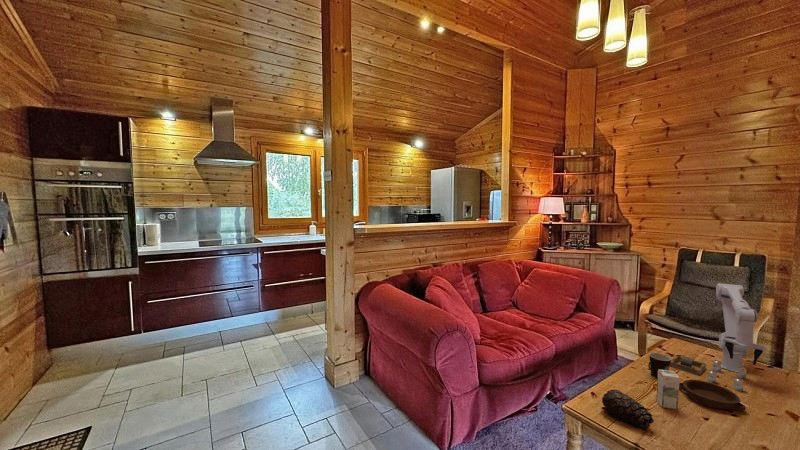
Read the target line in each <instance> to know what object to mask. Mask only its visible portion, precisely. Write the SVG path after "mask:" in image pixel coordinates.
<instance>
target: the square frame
mask: <svg viewBox="0 0 800 450" xmlns="http://www.w3.org/2000/svg"><path fill="white" fill-rule="evenodd" d="M682 357H683V356H679V355H675V356H674V357H673V358H671V362H670V367H671V368H673V369H676V370H680V371H683V372H686V373H689V374H692V375H695V376H701V375H702V373H703V372H704V371H705V370H706V366H707V364H706V363H704V362H700V361H697V360H694V367H697V368H698V369H696V368H694V369H693V368H690V367H687V366H683V365H680V363H681V358H682ZM678 362H680V363H678ZM670 367H669V368H670Z"/></svg>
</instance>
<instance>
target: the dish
mask: <svg viewBox="0 0 800 450" xmlns="http://www.w3.org/2000/svg"><path fill="white" fill-rule="evenodd" d="M679 390H681V391H683V392H685V393H686V394H687V395H688V396H689V398H690V399H692V400H693V401H695V402H697V403H699V404H701V405H704V406H706V407H710V408H713V409H719V410H730V409H733V410H738V411H740V412H741V411H743V412H744V411H746V409H747V406H746V405H744V404H743V403H741V398H740V397H739V396H738V395H737V394H736V393H735V392H733V391H732V390H730V389H728V388H726V387H724V386H721V385H719V384H717V383H711V382H709V381H704V380H699V379H687V380H683V381H682V382H679Z"/></svg>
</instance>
